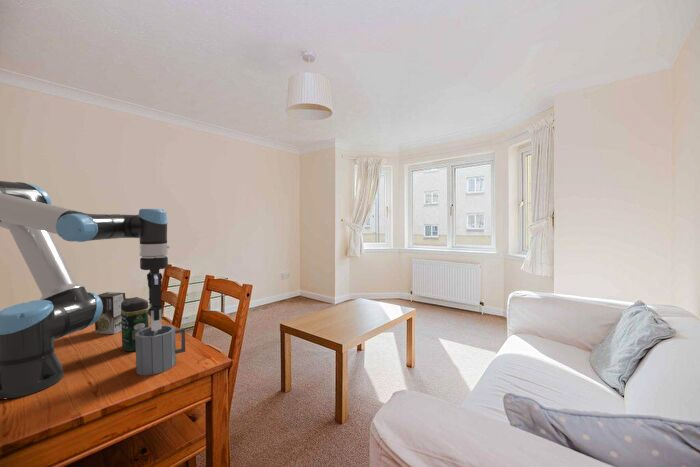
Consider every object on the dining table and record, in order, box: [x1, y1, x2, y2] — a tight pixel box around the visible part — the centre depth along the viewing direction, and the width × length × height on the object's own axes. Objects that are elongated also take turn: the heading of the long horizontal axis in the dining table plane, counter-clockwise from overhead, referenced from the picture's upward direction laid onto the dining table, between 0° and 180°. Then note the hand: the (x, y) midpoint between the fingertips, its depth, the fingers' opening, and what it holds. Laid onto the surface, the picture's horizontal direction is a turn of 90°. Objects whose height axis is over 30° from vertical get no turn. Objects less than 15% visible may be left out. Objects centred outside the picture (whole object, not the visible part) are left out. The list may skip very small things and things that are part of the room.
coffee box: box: [94, 291, 126, 335], centre depth 128 cm, size 9×6×16 cm
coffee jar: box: [121, 296, 150, 352], centre depth 112 cm, size 10×8×19 cm
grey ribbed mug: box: [135, 324, 186, 376], centre depth 99 cm, size 14×11×12 cm
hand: (155, 326), depth 98 cm, fingers open, 6 cm apart
